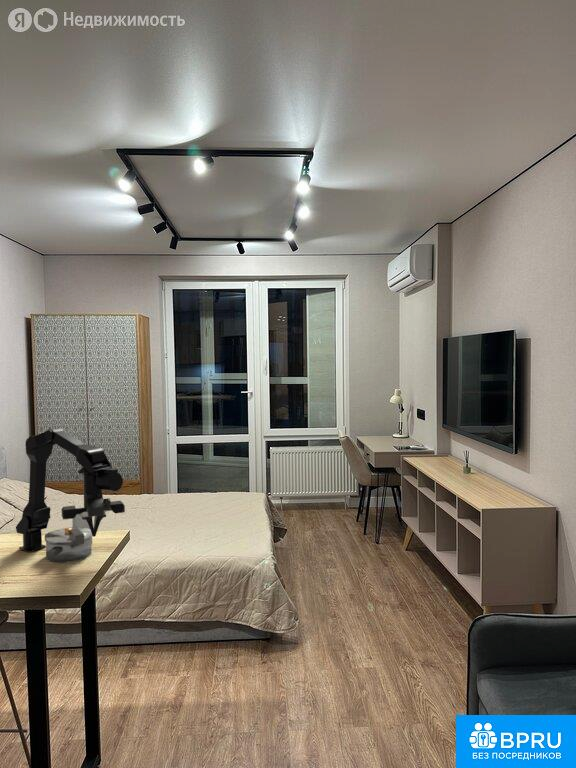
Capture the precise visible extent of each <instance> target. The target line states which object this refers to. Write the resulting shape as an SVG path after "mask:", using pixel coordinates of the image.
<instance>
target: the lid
mask: <svg viewBox="0 0 576 768" xmlns="http://www.w3.org/2000/svg"><path fill="white" fill-rule="evenodd" d="M91 536H92V533H91V530H90V529H89V528H83V527H73V526H72V527H65V528H59V529H54V530H51V531H49V532H47V533H46V534H45V535H44V541H45V543H46V542H49V543H55V544H65V543H74V544H75V545H80V544H84V540H85V539H88V538H90V537H91ZM92 537H93V536H92Z"/></svg>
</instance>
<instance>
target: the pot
mask: <svg viewBox="0 0 576 768" xmlns="http://www.w3.org/2000/svg"><path fill="white" fill-rule="evenodd" d="M45 546H46V547H45V556H46V557H45V558H46V560H47V561H48V562H50V563H55V564H57V563H58V564H62V563H73V562H78V561H81V560H84V559H87V558H89V557H90V556H91V555H92V544H91V537H90V538H88V539H85V540H84V544H80V545H75V544H74V543H65V544H55V543H49V542H46V541H45Z"/></svg>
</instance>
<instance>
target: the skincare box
mask: <svg viewBox="0 0 576 768" xmlns="http://www.w3.org/2000/svg"><path fill="white" fill-rule="evenodd" d="M71 522H72V525H71V526H72V527H83V528H89V525H88V523H87V521H86V520H83V519H82V517H81V514H76V516H75V518H72V521H71ZM89 529H90V528H89ZM92 544H93V536H91V545H92Z"/></svg>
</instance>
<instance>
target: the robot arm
mask: <svg viewBox="0 0 576 768" xmlns="http://www.w3.org/2000/svg"><path fill="white" fill-rule="evenodd" d="M55 445H57V446H58V447H60V448H62V449H63V450H65V452H66V451H67V453H69V454H71V455H72V456H74V457H75V460H76V463H78V464H79V465H80V466H81V469H79V470H78V474H81V475H83V477H82V478H83V479H82V481H83V507H78V508H76V506H75V505H69V506H68V505H66V506H63V507H61V517H62V520H71V519H72V518H75V516H76V514H81V517H82V519H83V520H86V521H87V523H88V525H89V528H90V530H91V533H92V538H93V537H94V538H95V537H96V535H97V533H98V530H99V527H100V524H101V522H102V521H103V518H106V517H107V514H106V513H107V512H110V511H111V512H112V513H114V514H121V513H126V511H125V510H126V508H125V507H126V505H125V504H124V502H123V501H121V500H114V501H111V498H109V497H108V498H104V497H103V491H109V492H110V491H111V492H118V491H119V490H121V489H122V486H123V484H124V479H123V477H122V474H120V472H119V471H118V468H113V466H112V463H111V462H110V461H109V459H108V457H107V455H106V453H105V450H104V449H103V448H101V447H98V446H96V445H91V444H85V443H84V442H82V441H81V440H79V439H77V438H75V437H74V436H73V435H71V434H70V433H67V432H66V431H64V429H63V428H60V427H56V428H49V429H47V430H45V431H43V432H41V433H38V434H36V435H30V436H29V437H28V438H27V439H26V440H25V454H26V456H27V457H28V459H29V460H30V469H29V485H28V486H29V487H28V502H27V504H26V505H25V507H24V508H23V511H22V516H21V519H20V521H19V522H18V524H17V525H16V526H15V530H16V533H17V534H21V535H22V546H19V547H18V549H19V550H22V551H24V552H27V553H30V552H34V551H38V550H41V549H46V544H43V542H42V541H43V540H42V539H43V537H42V536H43V535H42V530H44V529H47V528H48V525H49V524H48V523H49V521H50V520H51V511H52V510H51V507H50V506H48V505H47V504H46V501H45V496H46V495H45V494H46V478H47V477H46V476H47V461H48V459H49V458H50V456H51V455H52V453H53V449H54V446H55ZM93 518H94V520H93Z"/></svg>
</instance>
